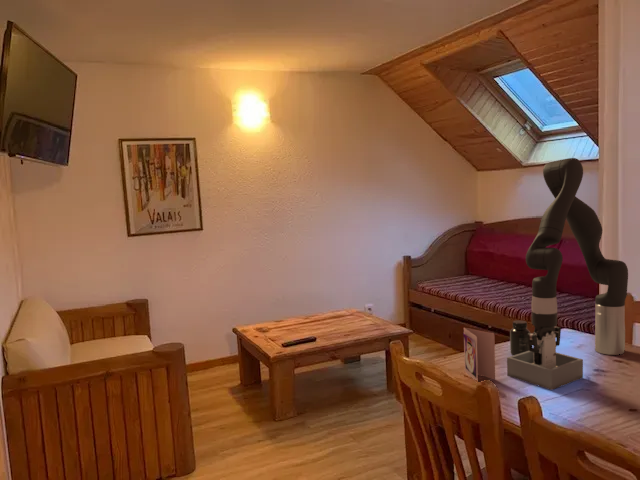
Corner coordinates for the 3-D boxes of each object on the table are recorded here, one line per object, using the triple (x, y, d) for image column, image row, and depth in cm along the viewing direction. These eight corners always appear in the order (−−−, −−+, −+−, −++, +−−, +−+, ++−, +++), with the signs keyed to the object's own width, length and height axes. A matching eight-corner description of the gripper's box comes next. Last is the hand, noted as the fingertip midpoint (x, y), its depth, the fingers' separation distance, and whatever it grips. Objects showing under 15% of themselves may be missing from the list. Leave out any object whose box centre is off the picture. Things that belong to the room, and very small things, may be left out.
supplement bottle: (532, 352, 196) (532, 320, 195) (528, 358, 190) (528, 325, 189) (512, 350, 200) (512, 318, 199) (508, 355, 194) (507, 323, 193)
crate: (538, 364, 183) (538, 347, 183) (582, 377, 170) (582, 359, 169) (507, 375, 175) (507, 357, 174) (551, 390, 161) (551, 370, 161)
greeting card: (462, 371, 180) (461, 327, 179) (483, 369, 181) (482, 325, 180) (475, 383, 169) (474, 337, 168) (497, 381, 170) (497, 335, 168)
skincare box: (545, 375, 168) (545, 337, 167) (532, 371, 172) (532, 334, 171) (557, 370, 172) (556, 333, 171) (544, 367, 176) (544, 330, 174)
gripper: (547, 304, 177) (548, 354, 179) (519, 311, 169) (520, 363, 171) (568, 308, 171) (568, 360, 172) (540, 316, 163) (540, 370, 165)
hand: (544, 361), depth 172 cm, fingers closed on skincare box, 6 cm apart
